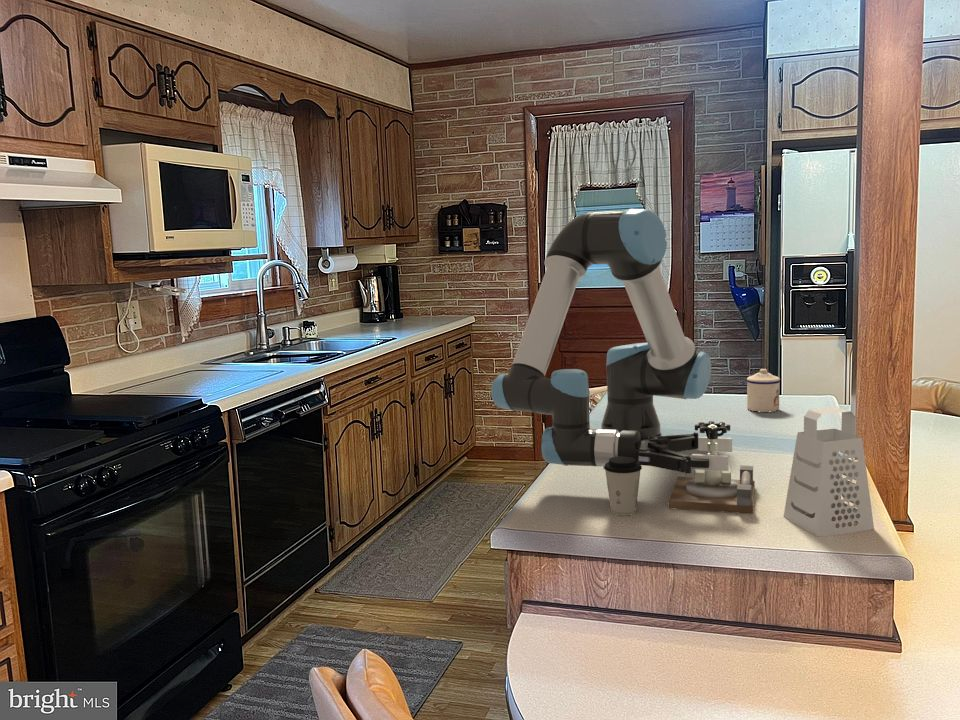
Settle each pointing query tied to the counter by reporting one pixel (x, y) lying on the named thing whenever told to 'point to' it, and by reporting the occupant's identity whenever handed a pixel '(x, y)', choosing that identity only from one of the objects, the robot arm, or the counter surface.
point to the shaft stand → (715, 494)
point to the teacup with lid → (763, 392)
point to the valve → (712, 433)
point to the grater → (828, 477)
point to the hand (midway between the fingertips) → (730, 453)
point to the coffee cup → (623, 484)
